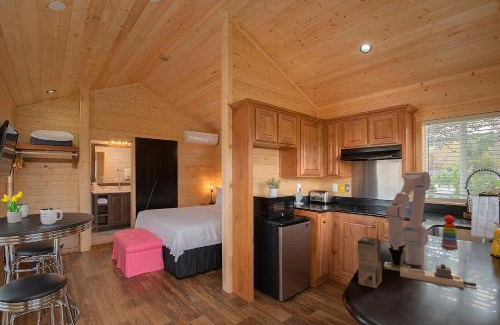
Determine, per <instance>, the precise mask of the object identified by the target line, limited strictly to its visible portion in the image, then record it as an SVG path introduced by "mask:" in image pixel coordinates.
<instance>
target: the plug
mask: <svg viewBox="0 0 500 325" xmlns="http://www.w3.org/2000/svg"><path fill="white" fill-rule="evenodd" d="M403 256H404V253H402V255H401V259H400V265H399V266H397V265H394V264H393V260H392V256H391V255H390V262H391V267H396V268H401V267H403V264H404V257H403Z"/></svg>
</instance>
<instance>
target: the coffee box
mask: <svg viewBox="0 0 500 325" xmlns="http://www.w3.org/2000/svg"><path fill="white" fill-rule="evenodd" d="M357 259H358V260H357V261H358V262H357V263H358V268H357V269H358V284H359V285H362V286H365V287H369V288H374V289H377V288H378V287H379V285H380V284H381V283H382V282H383V275H382V274H383V272H382V243H381V239H378V238H374V237H373V238H372V237H368V236H367V237H365V236H364V237H362V238H360V239H359V240H358V241H357Z"/></svg>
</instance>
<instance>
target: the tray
mask: <svg viewBox="0 0 500 325" xmlns="http://www.w3.org/2000/svg"><path fill="white" fill-rule="evenodd" d="M403 267H406V268H411V264H404V263H403ZM383 269H384V270H391V271H397V272H400V268H396V267H391V261H390V262H388V261H385V262H384V265H383Z"/></svg>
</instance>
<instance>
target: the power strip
mask: <svg viewBox="0 0 500 325" xmlns="http://www.w3.org/2000/svg"><path fill="white" fill-rule="evenodd" d="M399 275H400V278H407V279H413V280H419V281H425V282H429V283H436V284H442V285H447V286H453V287H458V288H459V289H464V288H465V287H464V286H469V287H474V288H475V287H477V283H476V282H470V281H464V280H463V279H462V277H461V275H455V274H451V279H446V278H440V277H436V271H429V270H424V269H417V268H413V267H410V268H406V267H401V268H400V271H399Z"/></svg>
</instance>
